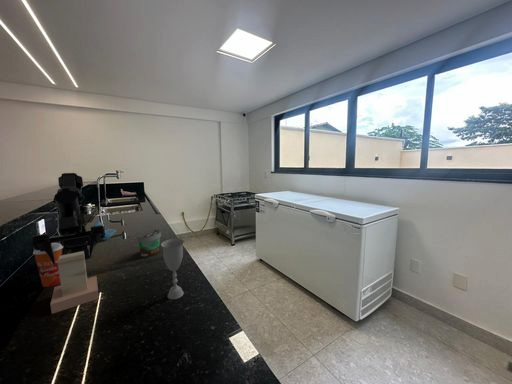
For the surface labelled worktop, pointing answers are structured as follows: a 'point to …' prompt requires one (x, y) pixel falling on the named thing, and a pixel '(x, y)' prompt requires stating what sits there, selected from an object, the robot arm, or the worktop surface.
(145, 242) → the food container
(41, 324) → the worktop surface
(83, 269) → the pillar
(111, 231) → the soap dispenser
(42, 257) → the paper cup
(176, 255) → the chalice
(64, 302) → the plinth
